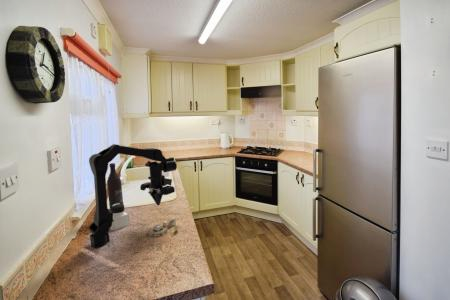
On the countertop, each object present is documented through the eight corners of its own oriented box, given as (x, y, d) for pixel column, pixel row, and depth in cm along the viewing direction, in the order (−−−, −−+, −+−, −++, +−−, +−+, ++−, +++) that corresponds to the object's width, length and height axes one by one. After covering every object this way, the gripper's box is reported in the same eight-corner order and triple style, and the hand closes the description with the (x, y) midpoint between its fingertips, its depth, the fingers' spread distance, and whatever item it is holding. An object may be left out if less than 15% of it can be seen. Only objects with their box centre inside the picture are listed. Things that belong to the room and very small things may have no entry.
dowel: (176, 233, 120) (176, 226, 119) (174, 232, 121) (173, 225, 120) (179, 231, 121) (178, 224, 121) (176, 231, 122) (176, 224, 122)
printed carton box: (130, 227, 131) (127, 204, 129) (116, 232, 126) (113, 208, 124) (123, 223, 136) (121, 201, 134) (109, 228, 131) (107, 205, 129)
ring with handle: (156, 238, 115) (156, 231, 115) (144, 233, 120) (143, 227, 120) (180, 225, 127) (180, 219, 127) (168, 221, 132) (167, 216, 132)
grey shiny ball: (157, 234, 119) (157, 228, 119) (153, 232, 121) (153, 226, 121) (162, 231, 122) (161, 225, 121) (158, 230, 123) (157, 224, 123)
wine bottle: (118, 219, 141) (112, 165, 136) (107, 218, 143) (102, 164, 139) (127, 215, 147) (122, 162, 143) (117, 213, 150) (111, 162, 145)
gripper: (181, 172, 128) (183, 203, 131) (156, 169, 139) (158, 197, 141) (164, 177, 119) (166, 210, 122) (138, 173, 130) (141, 203, 132)
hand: (158, 205), depth 129 cm, fingers closed
